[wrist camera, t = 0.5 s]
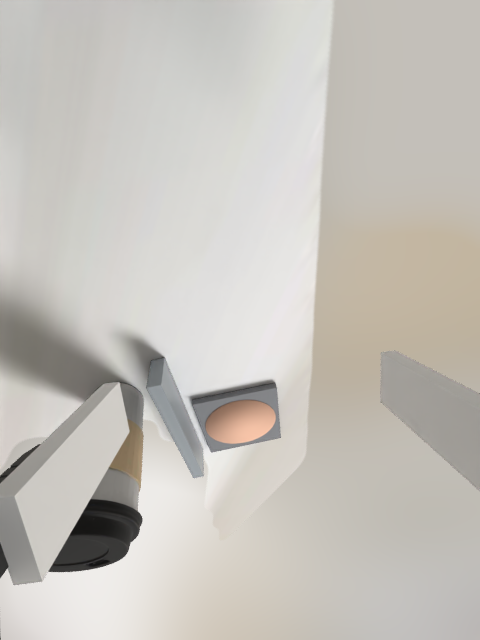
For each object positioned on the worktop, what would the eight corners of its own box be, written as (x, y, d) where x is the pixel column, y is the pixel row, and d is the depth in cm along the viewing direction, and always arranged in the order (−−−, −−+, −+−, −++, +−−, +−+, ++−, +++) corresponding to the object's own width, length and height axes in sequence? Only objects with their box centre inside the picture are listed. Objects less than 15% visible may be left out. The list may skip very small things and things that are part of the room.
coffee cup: (132, 429, 37) (102, 577, 25) (60, 405, 32) (-20, 572, 20) (173, 391, 33) (162, 539, 21) (100, 358, 29) (32, 523, 17)
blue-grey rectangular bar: (151, 360, 30) (146, 388, 27) (164, 357, 30) (161, 384, 27) (193, 451, 42) (193, 478, 39) (202, 449, 42) (203, 475, 39)
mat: (192, 399, 35) (192, 405, 34) (275, 382, 35) (276, 388, 34) (210, 447, 42) (211, 453, 41) (279, 433, 42) (280, 438, 42)
